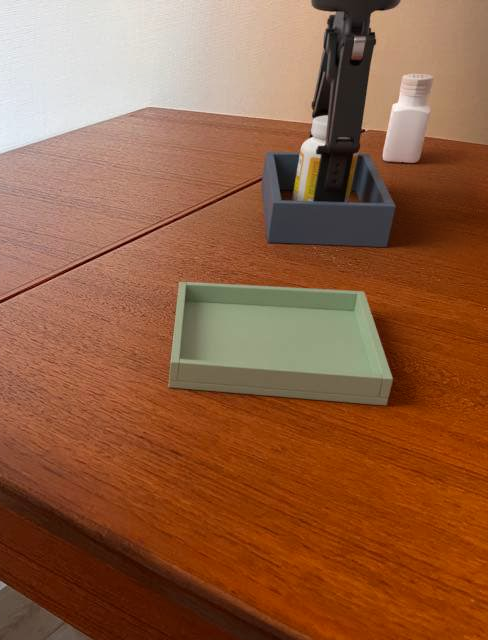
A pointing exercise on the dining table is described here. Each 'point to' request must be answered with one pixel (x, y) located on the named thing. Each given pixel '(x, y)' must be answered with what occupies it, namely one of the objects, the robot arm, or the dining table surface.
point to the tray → (278, 343)
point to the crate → (326, 207)
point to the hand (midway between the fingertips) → (320, 201)
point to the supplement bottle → (315, 163)
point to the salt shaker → (408, 120)
